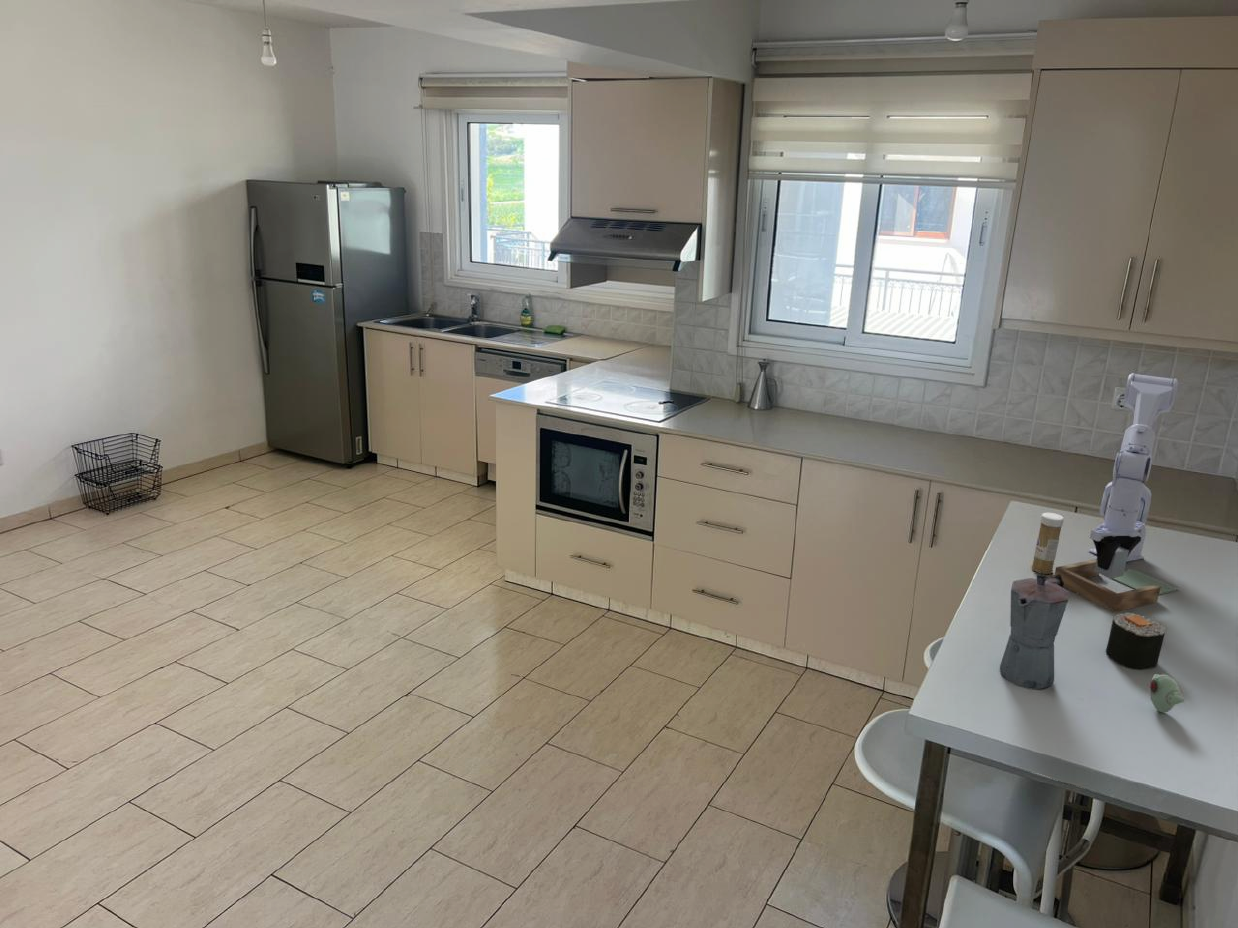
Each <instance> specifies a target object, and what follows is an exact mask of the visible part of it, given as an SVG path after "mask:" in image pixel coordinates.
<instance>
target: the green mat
mask: <svg viewBox="0 0 1238 928" xmlns="http://www.w3.org/2000/svg"><path fill="white" fill-rule="evenodd" d="M1111 580H1113V581H1116V582H1117V583H1120V584H1123V585H1124V586H1126V587H1129V588H1131V589H1132V590H1134V589H1139V588H1143V587H1147V586H1151V585H1158V586H1160V587H1161V589H1160V593H1159V595H1164V594H1167V593H1172V592H1175V591H1179V588H1177V587H1175V586H1173V585H1170V584H1168V583H1166V582H1163V581H1161V580H1159V579H1156V578H1155V577H1152V576H1149V575H1147V574H1145V573H1143V572H1141V571H1138V570H1136V569H1134V568H1132V569H1128V570H1126V569H1125V570H1124V574H1123V576H1120V577H1116V578H1112V579H1111Z"/></svg>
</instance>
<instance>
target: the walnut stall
mask: <svg viewBox="0 0 1238 928" xmlns="http://www.w3.org/2000/svg"><path fill="white" fill-rule="evenodd" d="M1096 560H1097V558H1095V559H1090V560H1086V561H1080V562H1075V563H1072V564H1066V565H1065V564H1064V565H1062V566H1061V565H1060V566H1056V567H1055V571H1054V575H1053V578H1054V577H1055V576H1056V575H1058V574H1060V575H1061V578H1062V581H1063V582H1064V585H1063V588H1064V589H1066V590H1068V591H1071V590H1072V591H1071V592H1073V591H1074V592H1073V593H1075V592H1076V593H1075V594H1077V593H1078V595H1079V596H1082V597H1083V598H1084V599H1085V598H1086V599H1087V600H1089V601H1092V602H1093V603H1096V604H1097V605H1100V606H1101V607H1104V608H1106V609H1108V610H1110V611H1112V612H1114V613H1116V612H1118V613H1119V612H1121V611H1125V610H1129V609H1134V608H1138V607H1142V606H1145V605H1146V606H1147V605H1150V604H1154V603H1157V602H1158V600H1159V593H1160V589H1161V587H1160V586H1158V585H1151V586H1147V587H1143V588H1139V589H1131V590H1127V591H1126V590H1125V591H1121V592H1118V593H1117V592H1115V591H1113V590H1111V589H1109V588H1107V587H1105V586H1102V585H1100V584H1099V583H1096V582H1094V581H1092V580H1090V579H1088V578H1091V577H1096V576H1099V575H1100V574H1099V573H1097V572H1095V571H1094V569H1095V565H1096Z"/></svg>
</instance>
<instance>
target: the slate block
mask: <svg viewBox="0 0 1238 928" xmlns="http://www.w3.org/2000/svg"><path fill="white" fill-rule="evenodd" d="M1128 552H1129V550H1127V549H1125V548H1123V547H1120V546H1119V547H1118V549H1117V550H1116V552H1115V554H1114V556H1113V558H1112V562H1111V565H1110V567H1109V569H1108V570H1104V569H1102V568H1100V567H1098V563H1097V560H1096V565H1095V569H1094V571H1095V572H1097V573H1099V575H1101V576H1104V577H1106V578H1108V579H1110V580H1113V579H1112V578H1116V577H1120V576H1123V574H1124V571H1126V564H1127V562H1126V561H1127V557H1128Z"/></svg>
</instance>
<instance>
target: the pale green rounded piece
mask: <svg viewBox="0 0 1238 928" xmlns="http://www.w3.org/2000/svg"><path fill="white" fill-rule="evenodd" d="M1150 681H1151V682H1150V684H1149V696H1150V697H1149V698H1150V701H1151V702H1152V704H1153V706H1154V708H1155V709H1156V710H1157V711H1158V712H1160V713H1164V714H1165V713H1168V712H1170V711H1171V710H1172V709H1173V708H1174V707H1175V706H1177V705H1179V704H1181V703H1184V702H1186V700H1185V698H1184V697H1183V695H1182V693H1181V690H1180V687H1179V685H1178V683H1177V681H1176V680H1175V679H1174V678H1172V677H1171V676H1169V675H1168V674H1157V673H1155V674H1154V675H1153V676H1152V678H1151V680H1150Z"/></svg>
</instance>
